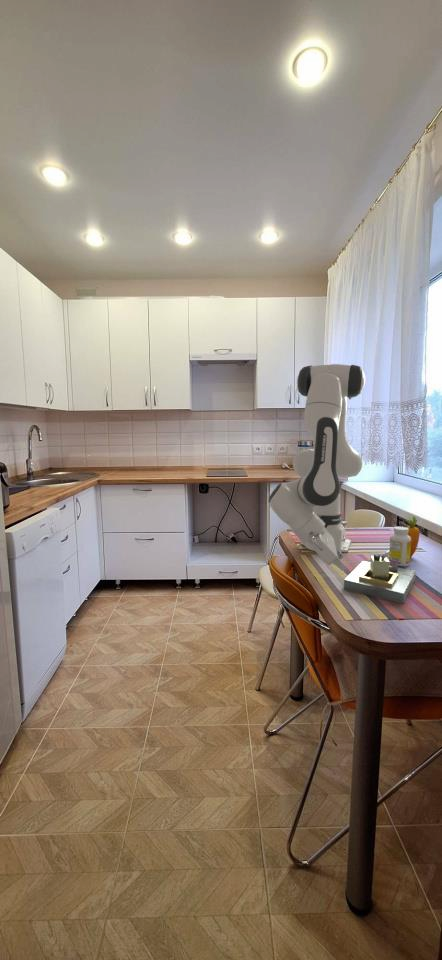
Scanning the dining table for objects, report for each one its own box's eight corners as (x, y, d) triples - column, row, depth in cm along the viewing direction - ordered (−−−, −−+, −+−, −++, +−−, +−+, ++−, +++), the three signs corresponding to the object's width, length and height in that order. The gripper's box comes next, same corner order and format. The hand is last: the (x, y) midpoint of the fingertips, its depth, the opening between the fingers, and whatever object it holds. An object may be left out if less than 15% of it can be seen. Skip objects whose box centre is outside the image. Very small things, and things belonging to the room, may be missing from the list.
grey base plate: (364, 567, 130) (365, 554, 129) (416, 577, 121) (417, 564, 120) (343, 589, 112) (344, 574, 111) (403, 603, 103) (404, 588, 102)
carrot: (409, 559, 137) (412, 519, 135) (399, 555, 142) (402, 516, 140) (420, 558, 139) (423, 518, 137) (410, 554, 143) (413, 515, 141)
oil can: (369, 584, 116) (371, 547, 114) (387, 586, 115) (389, 548, 113) (371, 590, 111) (373, 551, 110) (390, 592, 110) (393, 553, 109)
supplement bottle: (405, 560, 136) (407, 525, 135) (412, 567, 130) (415, 530, 128) (385, 560, 137) (388, 525, 135) (392, 566, 131) (394, 530, 129)
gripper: (319, 531, 104) (355, 568, 103) (317, 515, 124) (347, 546, 123) (302, 546, 106) (337, 582, 105) (302, 527, 126) (332, 558, 125)
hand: (342, 562), depth 114 cm, fingers open, 8 cm apart
